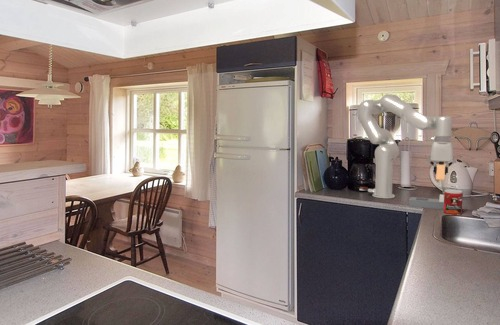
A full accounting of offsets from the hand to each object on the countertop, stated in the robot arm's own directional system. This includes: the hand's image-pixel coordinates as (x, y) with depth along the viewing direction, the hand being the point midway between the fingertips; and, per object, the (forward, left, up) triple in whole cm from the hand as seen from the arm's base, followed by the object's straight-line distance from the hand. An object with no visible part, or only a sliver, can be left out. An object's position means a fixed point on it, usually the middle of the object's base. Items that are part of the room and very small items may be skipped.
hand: (440, 173), depth 182 cm
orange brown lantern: (0, 0, -3) cm, 3 cm away
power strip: (-4, -8, -17) cm, 19 cm away
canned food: (+6, -18, -17) cm, 25 cm away
